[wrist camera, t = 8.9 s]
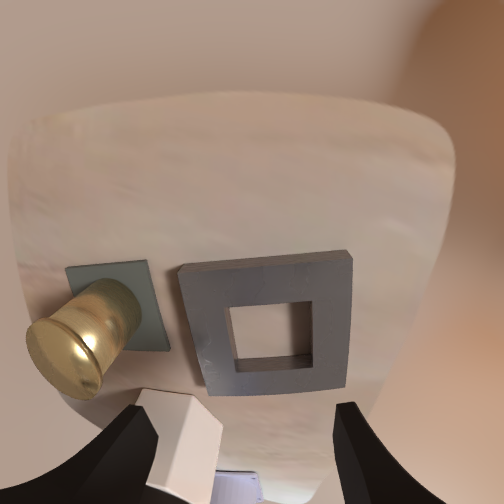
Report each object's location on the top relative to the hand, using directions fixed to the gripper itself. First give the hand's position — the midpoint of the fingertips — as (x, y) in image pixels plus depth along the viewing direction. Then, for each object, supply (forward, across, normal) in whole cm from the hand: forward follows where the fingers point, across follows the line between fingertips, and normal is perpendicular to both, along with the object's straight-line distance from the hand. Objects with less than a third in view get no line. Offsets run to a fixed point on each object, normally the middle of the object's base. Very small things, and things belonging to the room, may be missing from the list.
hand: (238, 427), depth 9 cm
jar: (+10, +8, +12) cm, 18 cm away
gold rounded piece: (+9, +10, 0) cm, 14 cm away
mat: (+10, +10, 0) cm, 14 cm away
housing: (+10, -1, +2) cm, 10 cm away
